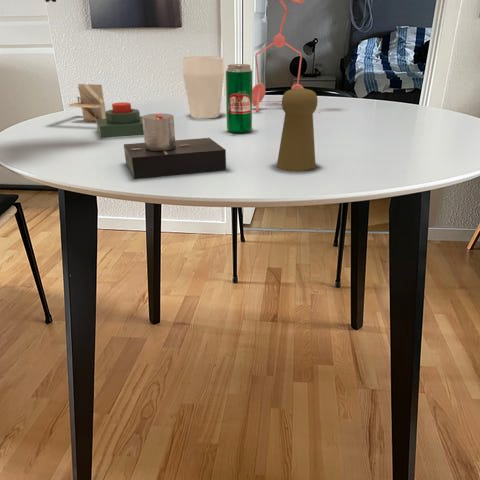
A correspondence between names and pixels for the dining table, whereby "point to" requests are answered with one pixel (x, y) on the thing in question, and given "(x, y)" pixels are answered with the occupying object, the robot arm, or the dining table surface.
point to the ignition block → (120, 124)
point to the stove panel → (175, 158)
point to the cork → (298, 131)
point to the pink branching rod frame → (258, 89)
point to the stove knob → (159, 132)
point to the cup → (203, 85)
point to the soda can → (239, 98)
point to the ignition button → (121, 107)
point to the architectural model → (90, 102)
